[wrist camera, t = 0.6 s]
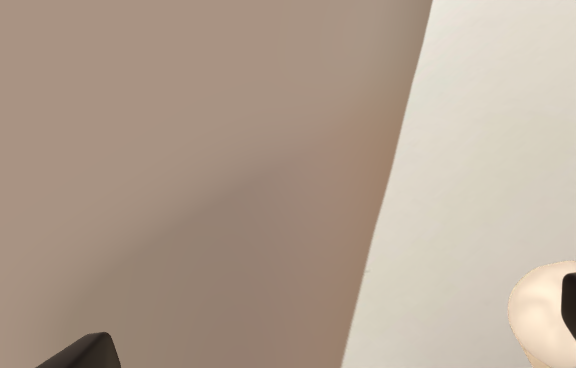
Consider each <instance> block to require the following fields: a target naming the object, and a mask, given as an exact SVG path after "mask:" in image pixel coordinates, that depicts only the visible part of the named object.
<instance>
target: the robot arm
mask: <svg viewBox="0 0 576 368" xmlns="http://www.w3.org/2000/svg"><path fill="white" fill-rule="evenodd" d="M561 316H562V319H563V321H564V323H565V325H566V327H567V328H568V330H569V331H570V333H571V334H572V336H573V337H574V339H575V340H576V272H574V273H568V274H566V275H565V276H564V277H563V280H562V294H561ZM36 368H121V365H120V361H119V358H118V356H117V352H116V349H115V346H114V343H113V341H112V338H111V336H110V335H109V334H108V333H106V332H101V333H93V334H87V335H85V336H84V337H82V338H80V339H79V340H77V341H76V342H74V343H73V344H71V345H70V346H68V347H67V348H65V349H64V350H62V351H61V352H59V353H57V354H56V355H54V356H53V357H51V358H50V359H48V360H47V361H45V362H44V363H42V364H41V365H39V366H38V367H36Z"/></svg>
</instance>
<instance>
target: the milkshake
mask: <svg viewBox="0 0 576 368" xmlns="http://www.w3.org/2000/svg"><path fill="white" fill-rule="evenodd" d="M574 272H576V261H563V262H558V263H553V264H549V265H544V266H541V267H538V268H535V269H533V270H532V271H530V272H529V273H527V274H526V275H525V276H524V277H523V278H522V279H521V280H520V281H519V282H518V283H517V284H516V286H515V287H514V289H513V290H512V292H511V295H510V298H509V302H508V319H509V323H510V326H511V329H512V331H513V333H514V335H515V336H516V338H517V339H518V341H519V343H520V345H521V347H522V349H523V351H524V352H525V354H526V356H527V358H528V360H529V362H530V363H531V365H532V367H533V368H576V340H575V339H574V337H573V336H572V334H571V333H570V331H569V330H568V328H567V327H566V325H565V323H564V321H563V319H562V316H561V294H562V280H563V277H564V276H565V275H566V274H568V273H574Z"/></svg>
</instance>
